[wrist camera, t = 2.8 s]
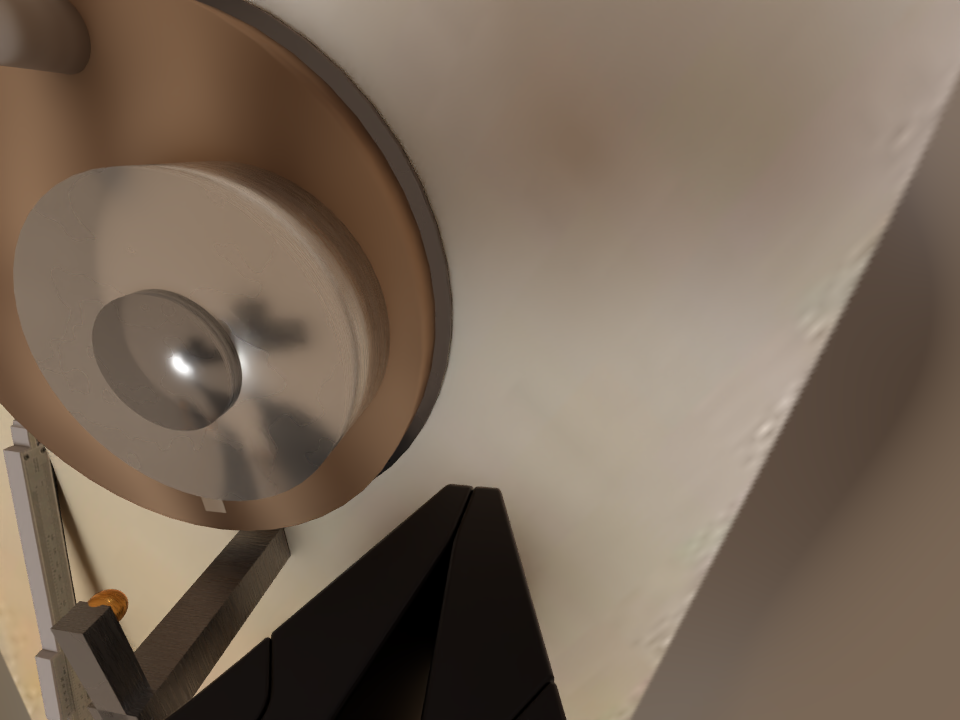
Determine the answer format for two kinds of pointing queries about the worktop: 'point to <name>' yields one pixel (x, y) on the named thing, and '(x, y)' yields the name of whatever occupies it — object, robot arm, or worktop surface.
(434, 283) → the turntable stand
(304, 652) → the robot arm
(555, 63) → the worktop surface
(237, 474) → the cover
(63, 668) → the caliper
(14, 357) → the turntable
